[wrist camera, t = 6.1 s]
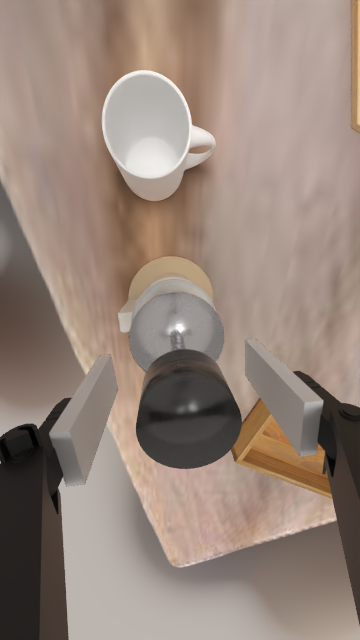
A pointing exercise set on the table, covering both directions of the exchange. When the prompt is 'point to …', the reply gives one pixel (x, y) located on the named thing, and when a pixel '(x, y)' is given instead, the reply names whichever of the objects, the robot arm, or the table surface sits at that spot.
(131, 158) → the mug
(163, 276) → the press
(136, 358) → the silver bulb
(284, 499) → the table surface
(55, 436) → the robot arm
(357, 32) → the cutting board
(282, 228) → the table surface
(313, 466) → the tray
